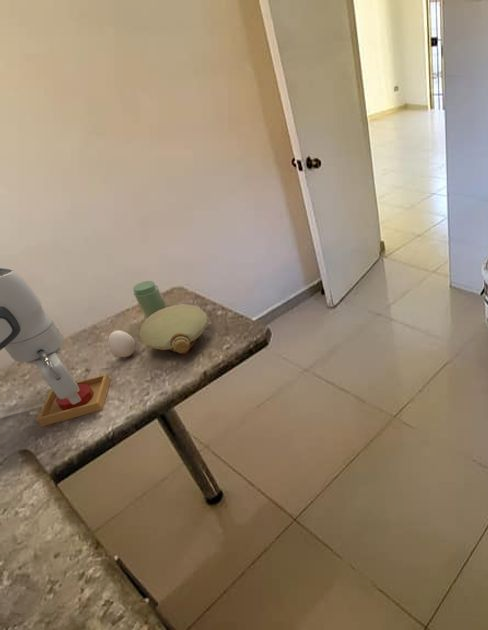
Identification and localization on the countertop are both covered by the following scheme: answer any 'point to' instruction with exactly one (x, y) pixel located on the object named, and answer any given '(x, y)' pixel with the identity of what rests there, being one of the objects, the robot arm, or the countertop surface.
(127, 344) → the egg
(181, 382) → the countertop surface
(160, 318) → the flask
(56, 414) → the tray
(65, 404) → the lid
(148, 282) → the jar
